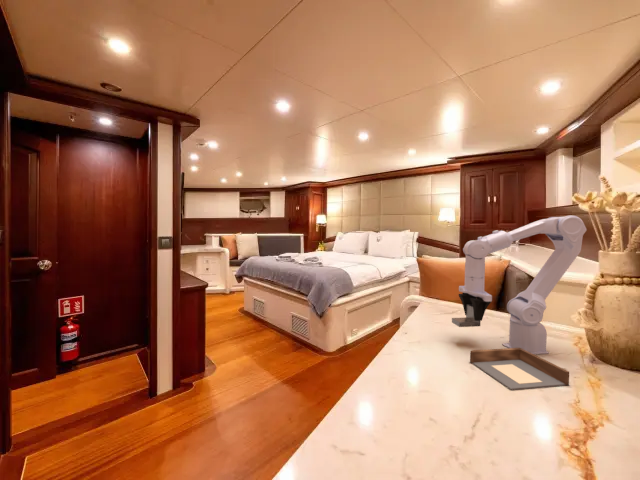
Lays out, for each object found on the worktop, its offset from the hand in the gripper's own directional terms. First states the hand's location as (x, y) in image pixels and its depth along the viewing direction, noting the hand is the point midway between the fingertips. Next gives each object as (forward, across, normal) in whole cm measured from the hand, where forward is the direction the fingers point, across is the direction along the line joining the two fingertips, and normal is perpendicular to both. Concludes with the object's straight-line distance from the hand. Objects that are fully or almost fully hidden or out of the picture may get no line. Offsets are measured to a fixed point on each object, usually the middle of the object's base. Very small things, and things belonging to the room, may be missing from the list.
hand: (473, 317), depth 91 cm
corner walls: (+9, +18, 0) cm, 20 cm away
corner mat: (+9, +18, 0) cm, 20 cm away
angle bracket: (+2, 0, -2) cm, 3 cm away
